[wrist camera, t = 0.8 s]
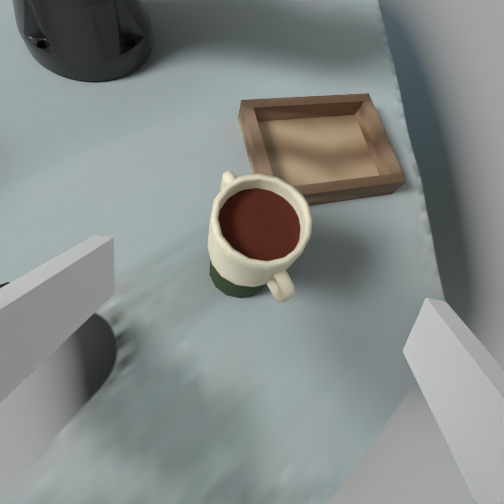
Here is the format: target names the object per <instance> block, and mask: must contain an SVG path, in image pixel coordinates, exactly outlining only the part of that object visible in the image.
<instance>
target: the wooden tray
mask: <svg viewBox="0 0 504 504" xmlns="http://www.w3.org/2000/svg"><path fill="white" fill-rule="evenodd" d="M238 120H239V123H240V127H241V131H242V135H243V138H244V142H245V146H246V150H247V153H248V157H249V161H250V164H251V168H252V172H253V174H264V175H269V176H275V177H278V178H280V179H282V180H284V181H286V182H288V183H290V184H291V185H293V186H294V187H295V188H296V189H297V190H298V191H299V192H300V193H301V194H302V195H303V196H304V198H305V199H306V200H307V202H308V205H316V204H323V203H330V202H337V201H344V200H351V199H358V198H365V197H372V196H379V195H386V194H392V193H393V192H394V191H395V190H397V189H398V188H399V187H400V186H401V185H402V184H404V183H405V182H406V179H405V177H404V174H403V172H402V170H401V167H400V165H399V163H398V160H397V158H396V156H395V153H394V151H393V149H392V146H391V144H390V142H389V139H388V137H387V135H386V133H385V130H384V128H383V126H382V123H381V121H380V119H379V116H378V114H377V112H376V109H375V107H374V105H373V102H372V100H371V98H370V95H369V93H368V94H349V95H330V96H310V97H291V98H272V99H253V100H241V105H240V111H239V117H238Z"/></svg>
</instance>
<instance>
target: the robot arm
mask: <svg viewBox="0 0 504 504" xmlns="http://www.w3.org/2000/svg"><path fill="white" fill-rule="evenodd" d="M13 6H14V11H15V17H16V22H17V26H18V29H19V32H20V34H21V36H22V38H23V40H24V42H25V44H26V46H27V47H28V49H29V51H30V53H31V54H32V56H33V57H34V58H35V59H36V60H37V61H38V62H39V63H40V64H41V65H43V66H44V67H45V68H47V69H48V70H50V71H52V72H54V73H56V74H58V75H61V76H64V77H67V78H71V79H75V80H82V81H104V80H111V79H115V78H119V77H122V76H124V75H127V74H129V73H131V72H132V71H134V70H136V69H137V68H138V67H140V66H141V65H142V64H143V63H144V62H145V60H146V59H147V58H148V56H149V54H150V52H151V49H152V44H153V38H152V31H151V24H150V19H149V16H148V13H147V10H146V8H145V6H144V4H143V2H142V0H13ZM114 293H115V281H114V249H113V238H112V237H107V236H102V235H97V234H96V235H94V236H92V237H90V238H89V239H87V240H85V241H83V242H81V243H80V244H78V245H76V246H74V247H73V248H71V249H69V250H67V251H66V252H64V253H62V254H60V255H58V256H57V257H55V258H53V259H51V260H50V261H48V262H46V263H44V264H42V265H41V266H39V267H37V268H35V269H34V270H32V271H30V272H28V273H26V274H25V275H23V276H21V277H19V278H18V279H16V280H14V281H12V282H11V283H10V282H7V283H4V284H1V285H0V402H1V401H2V400H3V399H4V398H5V397H7V396H8V395H9V394H10V393H11V392H12V391H13V390H14V389H15V388H16V387H17V386H18V385H19V384H20V383H21V382H22V381H23V380H24V379H25V378H26V377H27V376H28V375H30V374H31V373H32V372H33V371H34V370H35V369H36V368H37V367H38V366H39V365H40V364H41V363H42V362H43V361H44V360H45V359H46V358H47V357H48V356H49V355H51V354H52V353H53V352H54V351H55V350H56V349H57V348H58V347H59V346H60V345H61V344H62V343H63V342H64V341H65V340H66V339H67V338H68V337H69V336H70V335H72V333H74V331H76V330H77V329H78V328H79V327H80V326H81V325H82V324H83V323H84V322H85V321H86V320H87V319H88V318H89V317H90V316H91V315H92V314H94V313H95V312H96V311H97V310H98V309H99V308H100V307H101V306H102V305H103V304H104V303H105V302H106V301H107V300H108V299H109V298H110V297H111V296H112V295H113V294H114ZM403 353H404V355H405V357H406V359H407V361H408V364H409V366H410V368H411V370H412V372H413V374H414V376H415V378H416V380H417V382H418V384H419V386H420V388H421V390H422V392H423V395H424V397H425V399H426V401H427V403H428V405H429V407H430V409H431V411H432V413H433V415H434V417H435V419H436V421H437V423H438V426H439V428H440V430H441V432H442V434H443V436H444V438H445V440H446V442H447V444H448V446H449V448H450V451H451V453H452V455H453V457H454V459H455V461H456V463H457V465H458V467H459V469H460V471H461V473H462V475H463V477H464V479H465V481H466V483H467V486H468V488H469V490H470V492H471V494H472V496H473V498H474V500H475V502H476V504H504V369H503V368H502V367H501V366H500V364H499V363H498V362H497V361H496V360H495V359H494V357H493V356H492V355H491V354H490V353H489V351H487V349H486V348H485V347H484V346H483V345H482V343H481V342H480V341H479V340H478V339H477V338H476V336H475V335H474V334H473V333H472V332H471V331H470V329H469V328H468V327H467V326H466V325H465V324H464V322H463V321H462V320H461V319H460V318H459V317H458V315H457V314H456V313H455V312H454V311H453V310H452V309H451V307H450V306H449V305H448V304H447V303H446V301H441V300H436V299H431V298H426V299H425V301H424V303H423V306H422V308H421V310H420V312H419V315H418V317H417V319H416V321H415V324H414V326H413V328H412V330H411V333H410V335H409V337H408V339H407V342H406V344H405V346H404V349H403Z"/></svg>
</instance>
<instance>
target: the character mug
mask: <svg viewBox="0 0 504 504" xmlns="http://www.w3.org/2000/svg"><path fill="white" fill-rule="evenodd" d="M312 223H313V219H312V214H311V210H310V207H309V205H308V202H307V200H306V199H305V198H304V196H303V195H302V194H301V193H300V192H299V191H298V190H297V189H296V188H295V187H294V186H293V185H291V184H290V183H288V182H286V181H284V180H282V179H280V178H278V177H275V176H269V175H264V174H251V175H244V176H239V177H238V178H236V176H235V175H234V173H233V172H232V171H228V170H227V171H226V172H225V173H224V174H223V175H222V182H221V191H220V193H219V194H218V195H217V197H216V198H215V200H214V203H213V208H212V213H211V219H210V227H209V237H208V250H209V254H210V258H211V260H210V276H211V278H212V280H213V282H214V284H215V286H216V287H217V288H218V289H219V290H221V291H222V292H223V293H225V294H226V295H228V296H233V297H238V298H243V297H248V296H252V295H254V294H256V293H257V292H258V291H260V290H261V289H262V288H263V287H264V285H265V284H267V285H268V287H269V289H270V291H271V293H272V295H273V296H274V298H275V299H276V300H277V302H285V301H287V300H288V299H290V298H291V297H292V296H293V295H294V294H295V291H296V290H295V287H294V284H293V282H292V280H291V278H290V276H289V274H288V273H287V271H286V270H287V269H288V268H289V267H290V266H291V265H292V264H293V262H294V261H295V260H296V259H297V258H298V257H299V256H300V255H301V254H302V252H303V250H304V248H305V247H306V245H307V243H308V241H309V239H310V237H311V232H312Z"/></svg>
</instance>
